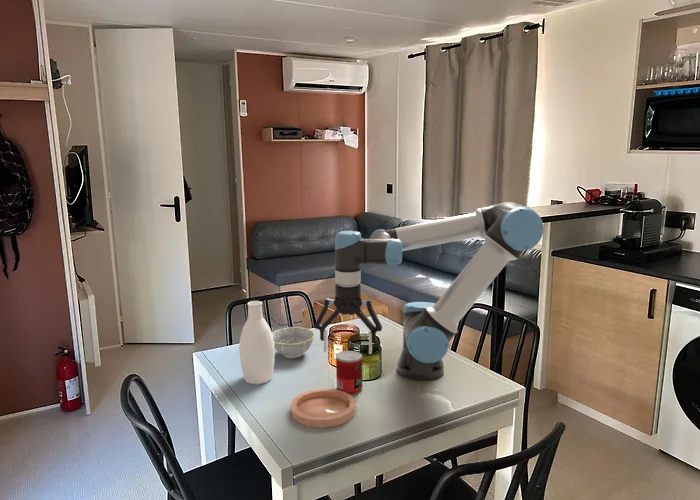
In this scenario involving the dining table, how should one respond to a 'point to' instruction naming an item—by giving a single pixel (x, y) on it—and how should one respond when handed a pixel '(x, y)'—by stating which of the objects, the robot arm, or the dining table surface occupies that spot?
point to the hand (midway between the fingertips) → (348, 351)
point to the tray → (323, 408)
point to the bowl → (293, 341)
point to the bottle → (256, 347)
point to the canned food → (349, 371)
